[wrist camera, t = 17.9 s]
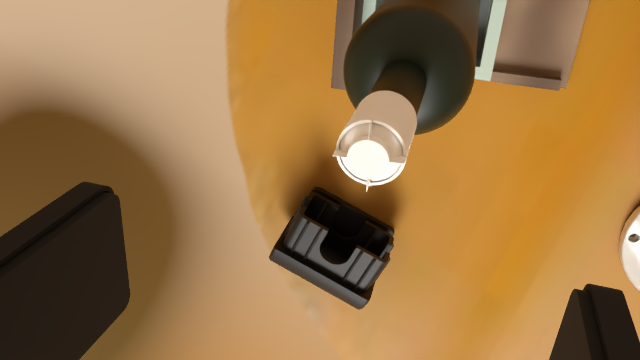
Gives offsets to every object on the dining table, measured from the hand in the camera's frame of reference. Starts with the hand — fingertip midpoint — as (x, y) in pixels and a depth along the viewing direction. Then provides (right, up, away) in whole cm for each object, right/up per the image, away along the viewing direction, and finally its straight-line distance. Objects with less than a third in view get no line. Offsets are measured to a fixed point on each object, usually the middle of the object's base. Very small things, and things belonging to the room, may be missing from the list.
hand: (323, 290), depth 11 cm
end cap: (+2, -3, +46) cm, 46 cm away
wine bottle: (+9, +16, +31) cm, 36 cm away
